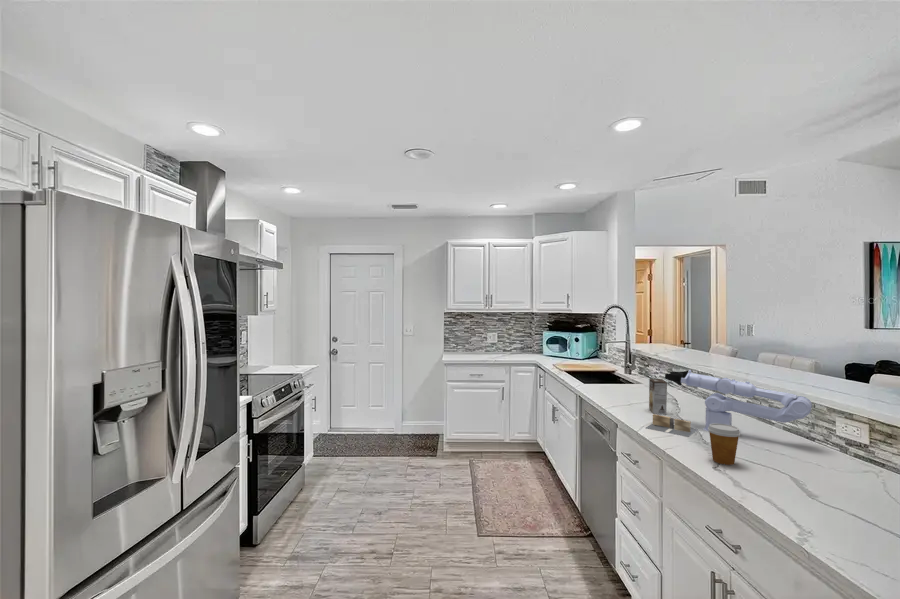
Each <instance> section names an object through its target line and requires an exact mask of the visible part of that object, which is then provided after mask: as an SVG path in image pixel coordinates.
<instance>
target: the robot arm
mask: <svg viewBox="0 0 900 599" xmlns="http://www.w3.org/2000/svg"><path fill="white" fill-rule="evenodd" d="M664 379H666V380H668V381H670V382H673V383H674V384H677V385H678V386H682V384H685V385H686V386H687V387H695V388H700V389H706V390H710V391H717V392H716V393H715V392H714V393H712V394H711V395H709V396H707V397H706V398H705V400H704V405H705V426H704V427H703V429H702V430H703V431H706V432H709V430H708V427H709V425H710V424H713V423H718V424H727V425H731V426H733V423H732V422H733V420H732V419H733V418H732V413H731V412H734V413H738V414H743V415H747V416H752V417H756V418H760V419H766V420H770V421H775V422H778V423H779V422H780V423H784V424H785V423H790V422H793V421H796V420H803V419H804V418H805V417H806V416H808V415H810V414H811V411H812V407H813V404H812V401H811V400H810V399H809V398H807V397H806V396H802V395H800V396H799V395H798V394H795V393H791V392H787V391H786V392H785V391H779V390H772V389H766V388H761V387H760V388H758V387H757V386H755V385H754V384H753V383H751V382H750V381H747V380H746V381H745V382H743V381H740V380H739V381H738V380H736V379H733V378H731V379H730V378H728V377H723V378H720V377H716V376H712V375H711V376H710V375H706V374H699V373H694V372H692V369H688V370H684V371H670V372H669V373H665V374H664ZM730 393H731V394H732V395H736V396H740V397H746V398H750V399H752V398H753V397H755V396H756V397H760V398H763V399H764V398H765V399H769V400H774V401H778V402H780V403H781V404H782V405H783V407H781V408H776V407H771V406H768V405H767V406H766V405H763V404H762V405H761V404H757V403H751V402H747V401H741V400H738V399H734V398H731V397H729V396H725V395H727V394H730ZM723 394H724V395H723Z"/></svg>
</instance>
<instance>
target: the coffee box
mask: <svg viewBox="0 0 900 599" xmlns="http://www.w3.org/2000/svg"><path fill="white" fill-rule="evenodd" d="M648 382H649V384H648V385H649V386H648V387H649V388H648V389H649V391H648V394H649V395H648V410H649V411H650V412H651V413H652V415H653V414H655V415H660V414H663V415H662V416H667V405H668V404H667V402H668V400H667V399H668V396H667V395H668V382H666V381H665V380H664V379H663V378H649V380H648Z"/></svg>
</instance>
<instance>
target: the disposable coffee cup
mask: <svg viewBox="0 0 900 599" xmlns="http://www.w3.org/2000/svg"><path fill="white" fill-rule="evenodd" d="M708 430H709V431H708V433H709V440H710V448H711V456H712V461H713V462H715V463H716V464H719V465H724V464H725V466H732V465H735V461H736V457H737V456H736V455H737V449H738V445H739V444H738V443H739V438H740V435H741V431H740V428H738V427H737V426H734V425H732V426H731V425H727V424H718V423H713V424H710V425H709V427H708Z"/></svg>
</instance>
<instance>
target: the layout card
mask: <svg viewBox="0 0 900 599" xmlns="http://www.w3.org/2000/svg"><path fill="white" fill-rule="evenodd" d="M645 429H646V430H647V429H648V430H652V431H657V432H662V433H665V434H666V433H667V434H671V435H677V436H682V437H687V438H689V437H690V436H692V435H693V434H694V433H695V432H697V431H698V430H699V429H697V428H692V427H691V432H686V431H681V430H676V429H674V428H669V427H663V426H658V425H653V422H652V423H650V424H649V425H647V426H646V427H645Z"/></svg>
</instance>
